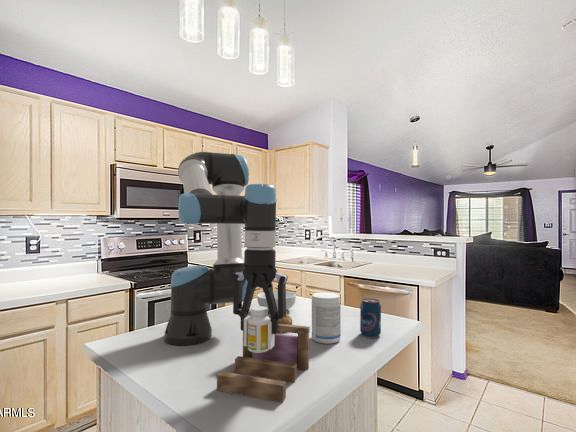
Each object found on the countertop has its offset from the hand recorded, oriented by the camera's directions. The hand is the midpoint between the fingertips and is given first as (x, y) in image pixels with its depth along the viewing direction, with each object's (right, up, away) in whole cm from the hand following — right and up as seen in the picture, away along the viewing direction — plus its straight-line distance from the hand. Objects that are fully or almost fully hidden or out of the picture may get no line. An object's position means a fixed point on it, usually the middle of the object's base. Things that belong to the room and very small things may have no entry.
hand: (259, 345), depth 78 cm
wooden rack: (+1, -9, +4) cm, 10 cm away
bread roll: (+4, -10, +41) cm, 43 cm away
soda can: (+36, -11, +35) cm, 51 cm away
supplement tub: (+20, -10, +31) cm, 38 cm away
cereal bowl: (+2, -11, +65) cm, 66 cm away
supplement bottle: (0, -1, 0) cm, 1 cm away
